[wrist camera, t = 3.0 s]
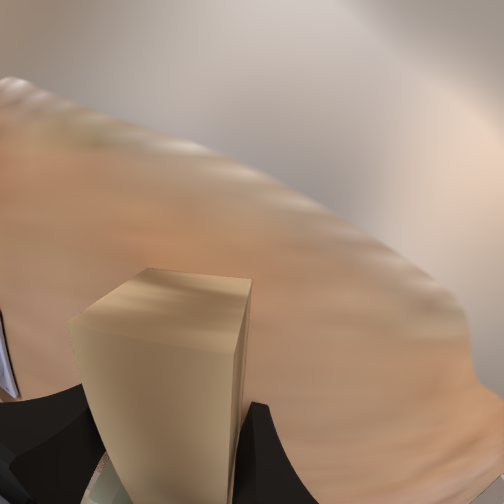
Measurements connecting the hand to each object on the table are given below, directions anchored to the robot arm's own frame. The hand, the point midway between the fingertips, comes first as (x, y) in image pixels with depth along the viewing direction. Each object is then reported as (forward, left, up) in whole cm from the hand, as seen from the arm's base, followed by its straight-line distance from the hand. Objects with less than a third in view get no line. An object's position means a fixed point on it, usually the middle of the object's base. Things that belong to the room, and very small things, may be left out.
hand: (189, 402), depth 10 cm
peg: (0, 0, -1) cm, 1 cm away
